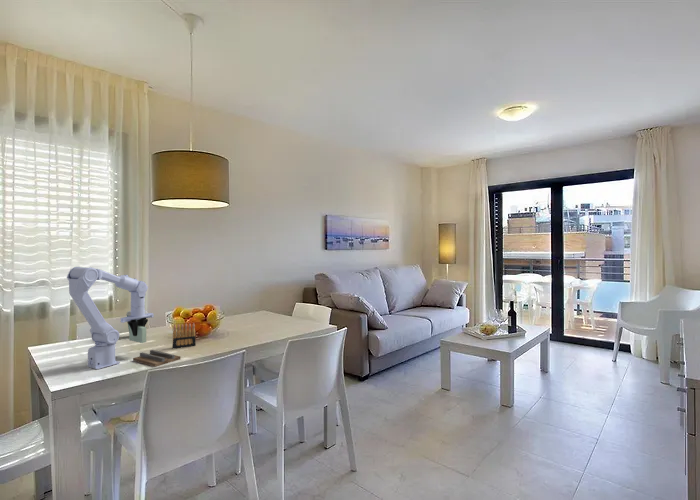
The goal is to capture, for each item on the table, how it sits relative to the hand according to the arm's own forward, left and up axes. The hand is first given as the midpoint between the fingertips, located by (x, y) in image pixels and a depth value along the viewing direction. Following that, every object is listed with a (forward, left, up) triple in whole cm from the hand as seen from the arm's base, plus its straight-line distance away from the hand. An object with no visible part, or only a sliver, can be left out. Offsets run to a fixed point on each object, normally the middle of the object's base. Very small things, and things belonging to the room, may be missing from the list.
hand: (137, 335), depth 170 cm
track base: (0, -15, -9) cm, 17 cm away
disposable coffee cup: (+20, +33, -10) cm, 40 cm away
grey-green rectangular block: (0, 0, -3) cm, 3 cm away
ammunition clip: (+20, -7, -10) cm, 23 cm away
